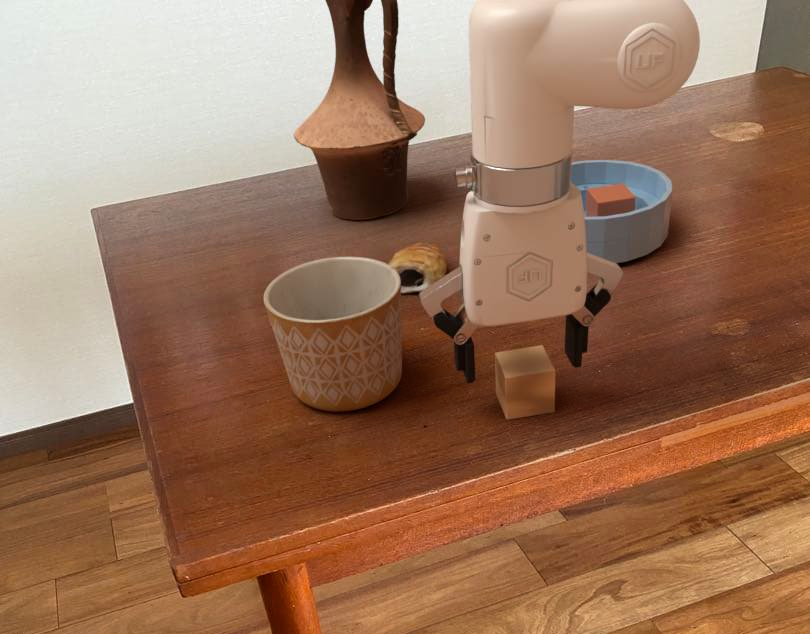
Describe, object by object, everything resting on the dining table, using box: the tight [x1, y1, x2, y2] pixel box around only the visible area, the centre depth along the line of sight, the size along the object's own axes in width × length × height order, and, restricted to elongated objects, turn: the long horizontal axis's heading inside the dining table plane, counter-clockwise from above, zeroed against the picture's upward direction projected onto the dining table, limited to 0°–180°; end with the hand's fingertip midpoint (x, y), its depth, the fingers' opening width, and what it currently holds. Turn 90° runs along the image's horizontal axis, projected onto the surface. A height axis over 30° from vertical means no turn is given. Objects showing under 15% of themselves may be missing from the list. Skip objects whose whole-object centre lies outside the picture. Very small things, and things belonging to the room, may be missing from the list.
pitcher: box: [293, 0, 426, 221], centre depth 111 cm, size 18×17×28 cm
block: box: [494, 344, 556, 421], centre depth 81 cm, size 4×4×4 cm
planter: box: [263, 256, 403, 413], centre depth 84 cm, size 13×13×10 cm
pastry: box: [387, 242, 448, 295], centre depth 102 cm, size 9×7×4 cm
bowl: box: [571, 159, 674, 264], centre depth 105 cm, size 17×17×6 cm
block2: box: [586, 184, 636, 217], centre depth 105 cm, size 4×4×4 cm
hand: (520, 367), depth 80 cm, fingers open, 9 cm apart
